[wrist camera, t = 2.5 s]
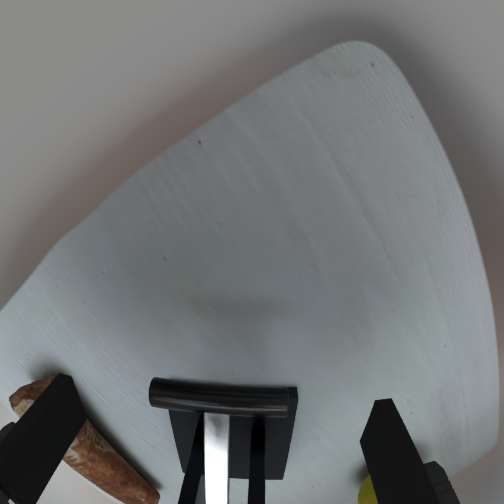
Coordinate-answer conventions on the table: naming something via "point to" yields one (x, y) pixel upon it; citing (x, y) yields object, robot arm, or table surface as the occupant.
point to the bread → (93, 455)
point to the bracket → (235, 450)
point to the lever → (218, 419)
